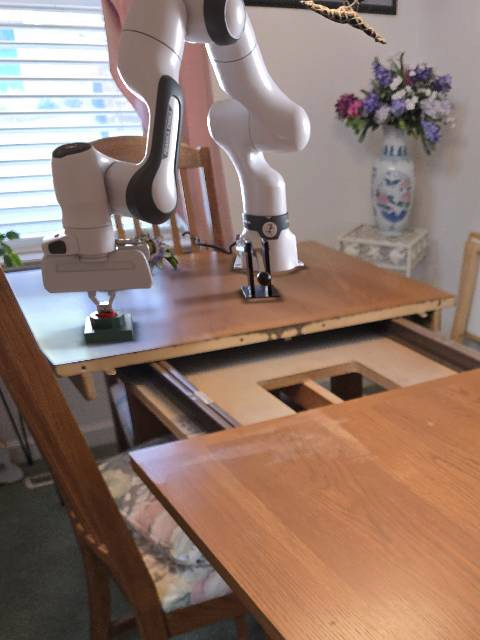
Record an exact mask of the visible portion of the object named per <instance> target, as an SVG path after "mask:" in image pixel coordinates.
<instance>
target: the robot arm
mask: <svg viewBox="0 0 480 640" xmlns="http://www.w3.org/2000/svg"><path fill="white" fill-rule="evenodd" d="M127 8H128V9H127V11H126V14H125V17H124V21H123V24H122V28H121V32H120V36H119V39H118V40H119V41H118V45H117V50H116V69H117V73H118V74H119V78H120V79H121V81H122V82H123V84H124V85H125V87H126V88H127V90H129V91H130V93H132V94H133V95H134V96H135V97H137V98H138V99H139V100H141V101H142V102H143V103H145V105H146V106H147V109H148V113H149V120H148V121H149V122H148V130H147V139H146V149H145V156H144V157H143V159H142V160H141V161H140V162H139V163H135V162H128V161H124V160H118V159H116V158H113V157H111V156H108V155H106V154H104V153H102V152H100V151H99V150H97V149H96V148H95V147H94V146H93V145H92V144H91V143H88V142H83V141H77V142H68V143H64V144H61V145H59V146H56V147H55V148H54V149H53V151H52V152H51V154H50V172H51V179H52V184H53V189H54V193H55V198H56V201H57V204H58V206H59V208H60V211H61V224H62V225H61V226H62V230H59V231H57V232H54V233H52V234H49V235H46V236H45V237H43V239H42V241H41V243H40V244H41V245H40V247H41V251H42V253H43V255H42V259H41V262H40V270H41V271H40V272H41V279H42V284H43V288H44V289H45V291H46V292H48V293H49V294H65V293H67V294H68V293H82V292H83V293H87V297H88V298H89V299H90V301H91V302H92V303H93V304H94V305H95V306H96V311H98V313H113V310H114V307H113V303H114V301H115V299H116V295H117V292H116V291H126V290H127V291H128V290H145V289H146V290H147V289H151V288H152V287H153V285H154V280H153V275H152V273H151V270H150V267H149V263H148V262H149V260H150V250H149V247H148V245H147V244H146V243H145V242H143V241H140V239H129V238H116V236H115V231H114V226H113V225H114V224H113V221H112V216H113V215H118V216H120V217H121V216H122V217H126V218H131V219H136V220H138V221H140V222H144V223H148V224H151V225H154V226H157V225H163V224H165V223H166V222H168V221H169V220H170V219H171V218H172V216H173V215H174V214H175V212H176V210H177V207H178V205H179V183H178V181H179V177H178V176H179V163H180V155H181V145H182V137H183V127H184V118H185V117H184V116H185V97H184V92H183V89H182V87H181V85H180V70H181V64H182V60H183V56H184V50H185V44H186V43H190V44H203V45H205V48H206V51H207V54H208V57H209V60H210V62H211V65H212V67H213V70H214V73H215V76H216V79H217V81H218V84H219V86H220V88H221V89H222V90H223V92H224V93H225V94H226V95H228V96H229V97H230V98H226V99H220V100H215V101H214V102H213V103H212V104H211V106H210V108H209V110H208V113H207V128H208V132H209V135H210V137H211V138H212V140H213V142H215V144H216V145H218V146H219V147H220V149H222V150H223V151H224V152H225V153H226V155H227V156H228V157H229V159H230V161H231V162H232V164H233V166H234V169H235V171H236V173H237V177H238V180H239V185H240V191H241V198H242V207H243V208H242V209H243V211H242V212H241V216H242V217H241V221H242V227H243V231H242V232H241V234H236V235H235V241H233V242H231V243H230V244H229V245H228V249H226V248H224V247H222V246H220V245H216V244H211V243H203V242H199V241H200V237H199V236H198V235H196V236H194V235H191V234H190V232H191V231H189V230H184V231H183V232H182V233H181V237H185V235H190V236H192V237H193V238H194V239H195V242H194V243H195V244H196V245H198V246H200V247H205V248H212V249H217V250H220V251H221V252H224V253H227V254H232V253H233V252H234V251H233V247H234V246H235V248H236V251H238V253H237V255H236V257H235V262H234V264H233V270H237V269H239V270H240V269H244V270H247V266H246V255H245V252H244V249H243V246H244V245H245V244H244V238H248V239H249V241H250V242H251V240H261V238H266V239H267V241H268V244H269V245H270V251H269V258H270V271H271V273H279V272H285V271H289V270H293V269H295V268H296V267H304V266H305V263H304V262H302V261H301V260H299V259H298V249H297V238H296V235H295V234H294V232H292V231H291V230H290V215H289V212H288V210H287V208H288V207H287V194H286V193H287V191H286V190H287V189H286V182H285V180H284V177H283V176H282V174H281V173H279V172H278V171H277V170H276V169H274V168H272V167H271V166H270V165H269V163H268V162H267V160H266V159H265V157H264V156H265V155H264V153H274V154H284V155H285V154H291V153H296V152H302V151H304V149H305V148H306V147H307V146H308V144H309V143H308V142H309V141H310V138H311V122H310V118H309V116H308V114H307V112H306V110H305V109H304V108H303V107H302V106H301V105H299V104H297V103H295V102H294V101H293V100H292V99H290V98H289V97H288V96H287V95H286V94H285V93H284V92H283V91H282V90H281V88H279V86H278V85H277V84H276V82H275V81H274V79H273V78H272V76H271V74H270V73H269V71H268V68H267V67H266V64H265V60H264V58H263V56H262V52H261V50H260V47H259V43H258V40H257V36H256V34H255V30H254V27H253V25H252V22H251V19H250V17H249V15H248V12H247V10H246V6H245V2H244V0H131V1H130V3H129V6H128V7H127ZM140 243H142V244H140ZM261 244H262V242H261ZM262 261H263V255H262ZM252 262H253V272H259V273H260V271H259V267H258V263H257V258H256V257H253V254H252ZM115 290H116V291H115ZM97 292H107V296H109V299H108V301H100V300H99V299H98V298H97Z"/></svg>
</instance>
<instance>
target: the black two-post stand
mask: <svg viewBox="0 0 480 640" xmlns="http://www.w3.org/2000/svg"><path fill="white" fill-rule="evenodd" d="M261 242H262V255H263V265H264V269H265V272H267V273H269V274H270V276H271V277H272V275H271V274H272V272H271V271H270V258H269V251H270V245H269V244H268V241H267V239H266V238H261ZM244 244H245V245H244V246H243V249H244V252H245V255H246V266H247V269H246V276H247V285H243V286H242V285H241V286H240V289H241V290H242V293H243V295H244V297H245V299H246V300H248V299H250V300H251V299H265V298H281V295H280V293H279V292H278V290H277V288H276V286H275V285H274V284H272V282H271V283H270V284H269V285H268V286H261V285H260V284H258V285H255V275H254V273H255V272H254V271H253V262H252V250H251V242H250V241H249V239H248V238H244Z"/></svg>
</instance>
